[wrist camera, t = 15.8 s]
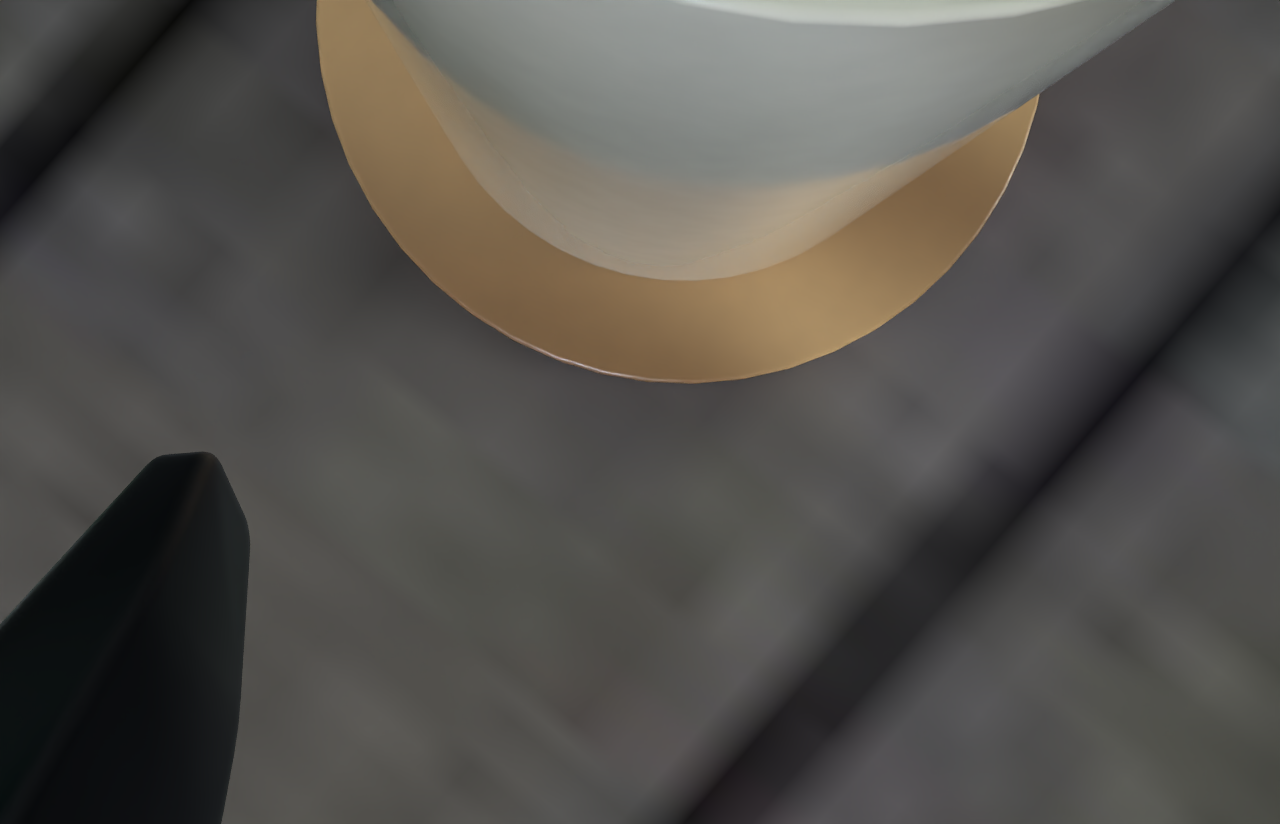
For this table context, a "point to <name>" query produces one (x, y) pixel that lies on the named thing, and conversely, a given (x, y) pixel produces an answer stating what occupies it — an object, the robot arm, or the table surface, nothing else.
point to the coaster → (625, 304)
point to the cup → (725, 110)
